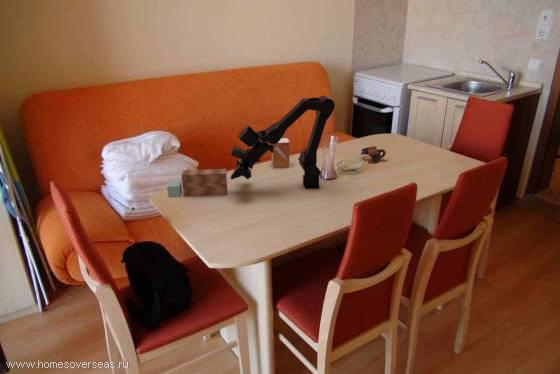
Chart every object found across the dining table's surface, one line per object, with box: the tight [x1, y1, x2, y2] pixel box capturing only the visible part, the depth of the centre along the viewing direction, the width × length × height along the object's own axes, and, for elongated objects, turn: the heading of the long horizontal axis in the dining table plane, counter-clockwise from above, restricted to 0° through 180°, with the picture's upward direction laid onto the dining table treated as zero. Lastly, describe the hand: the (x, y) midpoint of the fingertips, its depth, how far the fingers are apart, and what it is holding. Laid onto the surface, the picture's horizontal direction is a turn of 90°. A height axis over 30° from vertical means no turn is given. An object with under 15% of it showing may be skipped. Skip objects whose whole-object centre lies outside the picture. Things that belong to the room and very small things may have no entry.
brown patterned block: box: [181, 168, 228, 197], centre depth 183 cm, size 18×5×10 cm, turn 94°
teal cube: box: [166, 180, 183, 198], centre depth 183 cm, size 5×5×5 cm
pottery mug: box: [360, 145, 387, 164], centre depth 217 cm, size 12×10×8 cm
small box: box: [271, 137, 290, 169], centre depth 209 cm, size 8×6×13 cm
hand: (231, 178), depth 182 cm, fingers closed
